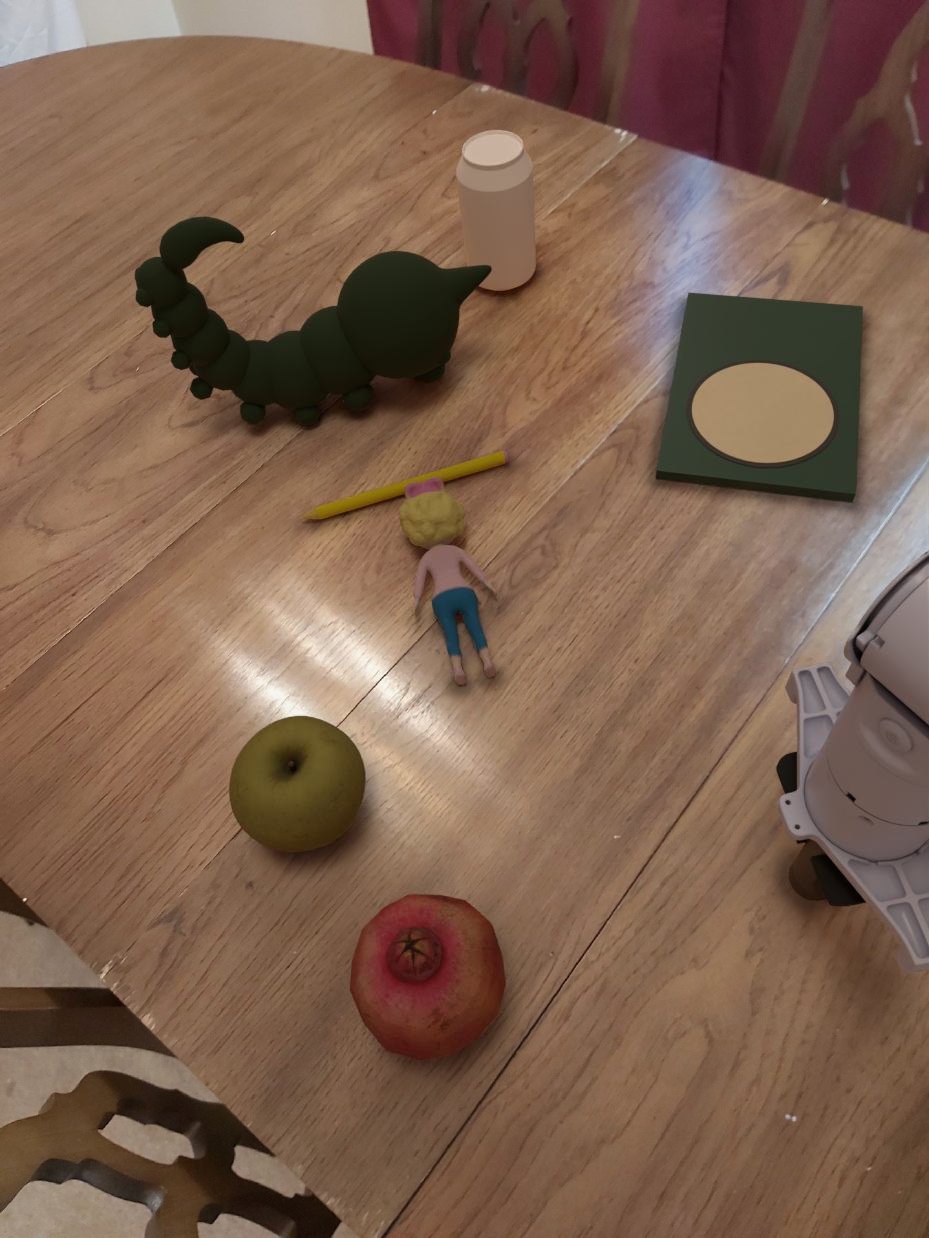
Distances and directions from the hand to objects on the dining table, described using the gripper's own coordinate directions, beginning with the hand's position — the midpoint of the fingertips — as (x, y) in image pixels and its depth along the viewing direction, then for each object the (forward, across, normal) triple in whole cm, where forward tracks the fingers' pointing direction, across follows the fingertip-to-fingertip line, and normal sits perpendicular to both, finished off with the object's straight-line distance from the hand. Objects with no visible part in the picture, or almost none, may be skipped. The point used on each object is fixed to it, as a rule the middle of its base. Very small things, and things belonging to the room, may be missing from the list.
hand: (823, 861), depth 50 cm
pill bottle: (+3, 0, 0) cm, 3 cm away
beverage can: (+3, -57, -7) cm, 58 cm away
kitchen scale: (+3, -37, +10) cm, 38 cm away
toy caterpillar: (+3, -46, -22) cm, 51 cm away
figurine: (+3, -24, -17) cm, 30 cm away
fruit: (+3, +2, -22) cm, 22 cm away
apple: (+3, -10, -28) cm, 30 cm away
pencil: (+3, -34, -19) cm, 39 cm away
